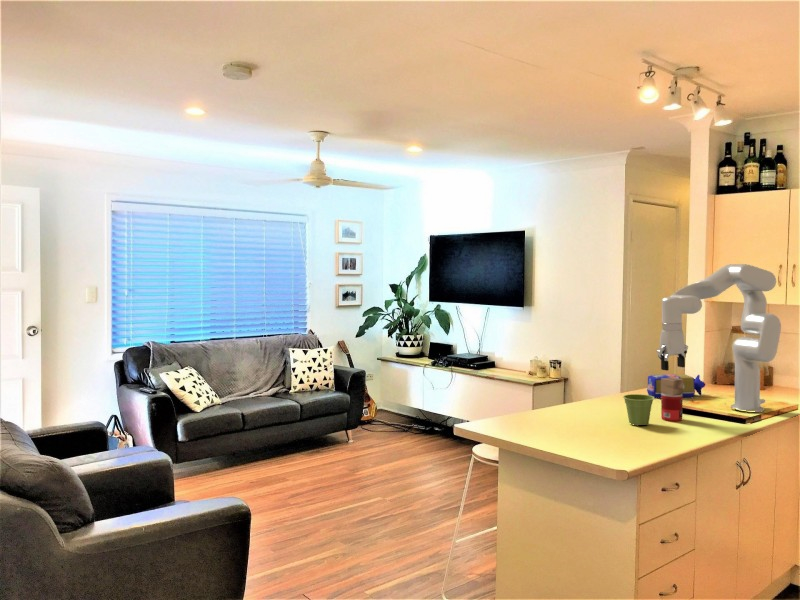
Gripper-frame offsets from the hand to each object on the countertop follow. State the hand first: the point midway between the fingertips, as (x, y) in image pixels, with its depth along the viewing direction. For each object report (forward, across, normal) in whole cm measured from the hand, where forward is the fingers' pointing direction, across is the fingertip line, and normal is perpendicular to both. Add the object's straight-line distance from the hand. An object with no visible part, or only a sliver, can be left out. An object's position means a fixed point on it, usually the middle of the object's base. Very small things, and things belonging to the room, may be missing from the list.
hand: (673, 368), depth 259 cm
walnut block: (+10, +1, 0) cm, 10 cm away
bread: (+23, -36, -29) cm, 52 cm away
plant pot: (+21, +18, -2) cm, 28 cm away
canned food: (+22, +1, 0) cm, 22 cm away
